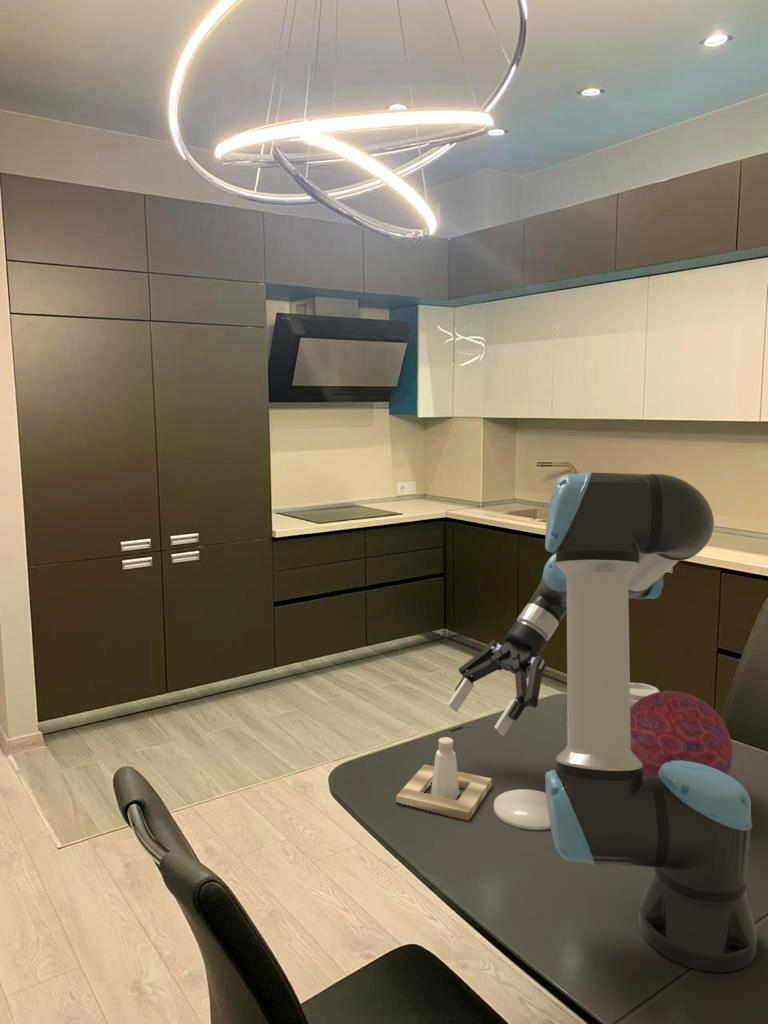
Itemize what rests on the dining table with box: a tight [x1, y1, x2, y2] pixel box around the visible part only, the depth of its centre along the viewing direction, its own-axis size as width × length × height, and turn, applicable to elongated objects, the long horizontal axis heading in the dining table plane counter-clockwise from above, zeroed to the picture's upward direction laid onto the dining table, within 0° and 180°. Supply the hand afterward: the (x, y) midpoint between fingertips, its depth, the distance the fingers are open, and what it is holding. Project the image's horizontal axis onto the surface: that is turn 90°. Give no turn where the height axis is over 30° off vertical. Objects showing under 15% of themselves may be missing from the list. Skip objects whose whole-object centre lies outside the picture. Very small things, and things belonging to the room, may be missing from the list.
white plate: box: [493, 788, 551, 831], centre depth 138 cm, size 13×13×1 cm
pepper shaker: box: [430, 736, 460, 800], centre depth 143 cm, size 5×5×11 cm
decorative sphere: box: [630, 690, 734, 776], centre depth 143 cm, size 20×20×20 cm
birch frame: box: [395, 764, 493, 822], centre depth 144 cm, size 14×14×2 cm
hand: (474, 719), depth 147 cm, fingers open, 13 cm apart
